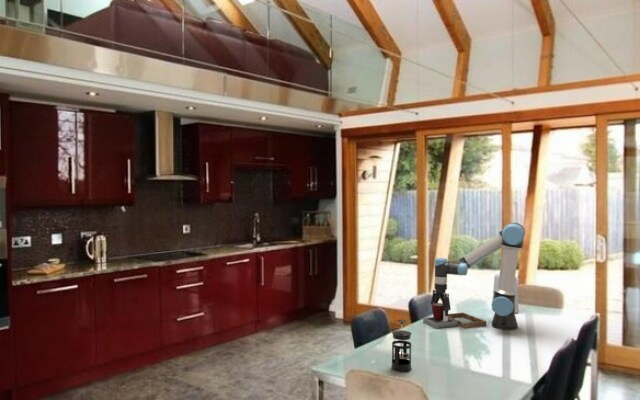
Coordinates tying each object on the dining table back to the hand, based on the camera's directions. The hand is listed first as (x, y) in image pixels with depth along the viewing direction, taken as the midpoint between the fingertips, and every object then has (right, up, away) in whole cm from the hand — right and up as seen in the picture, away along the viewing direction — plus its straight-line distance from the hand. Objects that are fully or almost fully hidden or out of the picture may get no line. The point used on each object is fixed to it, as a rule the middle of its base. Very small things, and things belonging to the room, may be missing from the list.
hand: (440, 318), depth 311 cm
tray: (0, -4, 0) cm, 4 cm away
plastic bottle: (+53, -3, +35) cm, 63 cm away
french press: (-37, -6, -76) cm, 85 cm away
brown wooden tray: (+16, -4, +5) cm, 17 cm away
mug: (0, -1, 0) cm, 1 cm away
